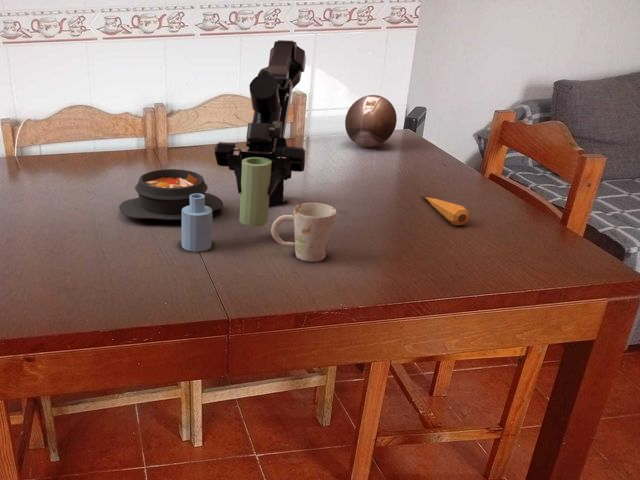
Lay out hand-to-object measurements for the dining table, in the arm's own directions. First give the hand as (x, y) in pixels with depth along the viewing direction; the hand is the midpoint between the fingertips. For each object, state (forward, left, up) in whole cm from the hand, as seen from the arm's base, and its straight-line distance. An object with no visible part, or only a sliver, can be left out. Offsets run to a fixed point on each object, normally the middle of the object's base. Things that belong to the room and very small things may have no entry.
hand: (254, 193), depth 145 cm
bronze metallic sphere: (-44, +73, -11) cm, 86 cm away
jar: (-1, +1, -7) cm, 7 cm away
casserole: (-24, -7, -11) cm, 27 cm away
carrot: (+8, +49, -11) cm, 51 cm away
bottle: (-4, -12, -11) cm, 16 cm away
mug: (+11, +4, -11) cm, 16 cm away
